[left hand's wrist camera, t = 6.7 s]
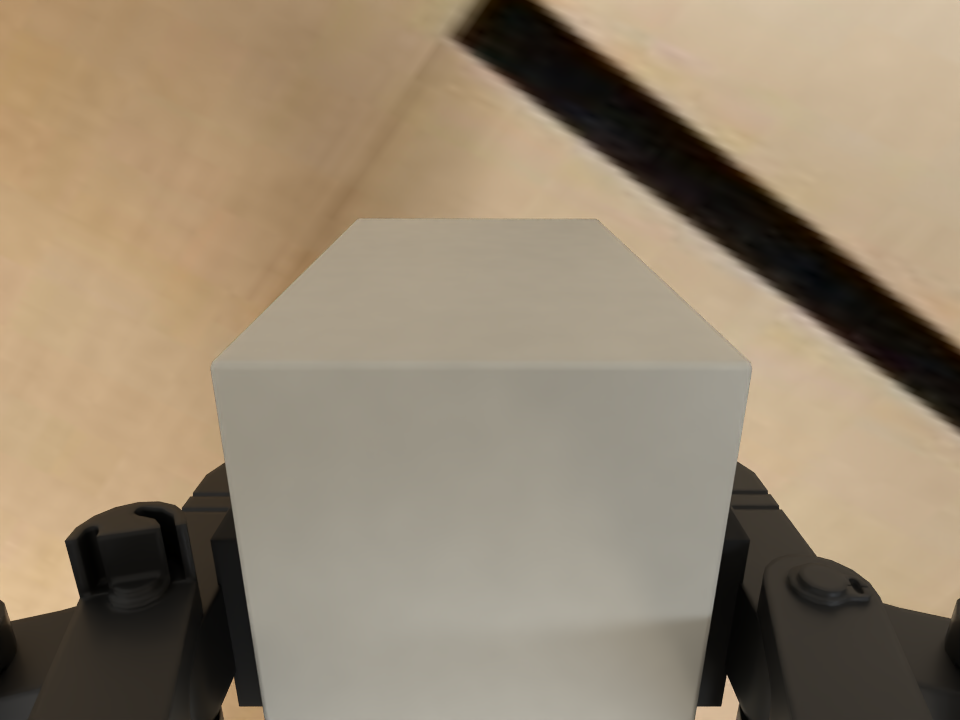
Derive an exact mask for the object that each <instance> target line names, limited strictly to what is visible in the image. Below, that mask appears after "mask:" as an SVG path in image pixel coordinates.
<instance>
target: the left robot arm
mask: <svg viewBox="0 0 960 720" xmlns="http://www.w3.org/2000/svg"><path fill="white" fill-rule="evenodd" d="M65 544H66V547H67V551H68V555H69V558H70V562H71V566H72V570H73V573H74V577H75V581H76V584H77V588H78V592H79V595H80V599H79V602H78V604H77V606H76V607H72V608H69V609H65V610H61V611H57V612H52V613H47V614H43V615H38V616H33V617H29V618H24V619H19V620H15V621H10V619H9V616H8V613H7V610H6V607H5V604H4V603H3V602H2V601H1V600H0V720H224V718H223V712H222V707H221V705H222V703H223V701H224V698H225V696H226V694H227V691H228V689H229V687H230V684H231V682H232V680H233V677H234V679H235V685H236V691H237V696H238V702H239V706H263V705H262V699H261V692H260V686H259V679H258V673H257V666H256V660H255V653H254V647H253V640H252V634H251V627H250V621H249V614H248V608H247V601H246V595H245V588H244V582H243V575H242V569H241V563H240V556H239V550H238V543H237V537H236V530H235V524H234V517H233V511H232V504H231V498H230V491H229V485H228V478H227V472H226V465H225V463H224V464H222V465H221V466H219V467H218V468H216V469H215V470H213V471H212V472H210V473H209V474H207V475H206V476H205V477H204V479H203V480H202V482H201V483H200V484H199V486H198V487H197V488H196V490H195V491H194V492H193V497H190V498H189V499H188V500H187V502H186V503H185V505H184V506H183V507H182V510H181V509H179V508H178V507H177V506H176V505H172V504H168V503H163V502H137V503H133V504H128V505H124V506H119V507H115V508H113V509H110V510H108V511H105V512H103V513H100V514H98V515H95V516H93V517H92V518H90V519H89V520H87V521H86V522H84V523H83V524H81V525H80V526H78V527H76V528H75V530H74V531H73V532H72V533H71V534H70V535H69V537H68V538H67V539H66V540H65ZM727 675H728V678H729V680H730V682H731V685H732V687H733V689H734V692H735V694H736V696H737V699H738V701H739V707H738V712H737V718H736V720H960V599H958V600H957V602H956V605H955V609H954V612H953V615H952V618H951V619H950V618H945V617H941V616H936V615H931V614H926V613H922V612H917V611H912V610H908V609H903V608H899V607H895V606H891V605H888V604H884V603H882V600H881V598H880V596H879V595H878V594H877V592H876V591H875V589H874V588H873V587H872V585H871V584H870V583H869V582H868V581H867V580H865V579H864V578H863V577H861V576H860V575H859V574H857V573H856V572H855V571H853V570H852V569H849V568H847V567H845V566H843V565H841V564H839V563H837V562H834V561H832V560H829V559H825V558H821V557H817V556H816V555H815V553H814V552H813V551H812V549H811V548H810V547H809V545H808V544H807V543H806V541H805V540H804V539H803V537H802V536H801V535H800V533H799V532H798V531H797V529H796V528H795V527H794V525H793V524H792V523H791V521H790V520H789V519H788V517H787V516H786V515H785V513H784V512H783V511H782V510H779V505H778V504H777V502H776V501H775V500H774V498H773V497H772V496H771V494H768V490H767V489H766V488H765V486H764V485H763V484H762V482H761V481H760V480H759V478H758V477H757V476H756V474H755V473H754V472H752V471H751V470H749V469H748V468H746V467H745V466H743V465H742V464H740V463H739V462H737V464H736V470H735V476H734V482H733V489H732V495H731V501H730V507H729V513H728V519H727V525H726V531H725V537H724V543H723V550H722V556H721V562H720V568H719V574H718V580H717V586H716V592H715V598H714V604H713V611H712V617H711V623H710V629H709V635H708V641H707V647H706V653H705V659H704V665H703V672H702V678H701V684H700V690H699V696H698V702H697V706H721V704H722V699H723V693H724V687H725V682H726V676H727Z"/></svg>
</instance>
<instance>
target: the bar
mask: <svg viewBox="0 0 960 720" xmlns="http://www.w3.org/2000/svg"><path fill="white" fill-rule="evenodd" d="M751 373H752V366H751V363H750V361H749V360H748V359H747V358H745V357H744V356H743V355H742V354H741V353H740V352H739V351H738V350H737V349H736V348H735V347H734V346H733V345H732V344H730V343H729V342H728V341H727V340H726V339H725V338H724V337H723V336H722V335H721V334H720V333H719V332H718V331H717V330H715V329H714V328H713V327H712V326H711V325H710V324H709V323H708V322H707V321H706V320H705V319H704V318H703V317H701V316H700V315H699V314H698V313H697V312H696V311H695V310H694V309H693V308H692V307H691V306H690V305H689V304H688V303H686V302H685V301H684V300H683V299H682V298H681V297H680V296H679V295H678V294H677V293H676V292H675V291H674V290H673V289H671V288H670V287H669V286H668V285H667V284H666V283H665V282H664V281H663V280H662V279H661V278H660V277H659V276H658V275H656V274H655V273H654V272H653V271H652V270H651V269H650V268H649V267H648V266H647V265H646V264H645V263H644V262H643V261H641V260H640V259H639V258H638V257H637V256H636V255H635V254H634V253H633V252H632V251H631V250H630V249H629V248H628V247H626V246H625V245H624V244H623V243H622V242H621V241H620V240H619V239H618V238H617V237H616V236H615V235H614V234H612V233H611V232H610V231H609V230H608V229H607V228H606V227H605V226H604V225H603V224H602V223H601V222H600V221H599V220H597V219H370V218H360V219H357V220H356V221H355V222H354V223H353V224H352V225H351V226H350V227H349V228H348V229H347V230H346V231H345V232H344V233H343V234H342V235H341V236H340V237H339V238H338V239H337V240H336V241H335V242H334V243H333V244H332V245H331V246H330V247H329V248H328V249H326V250H325V251H324V252H323V253H322V254H321V255H320V256H319V257H318V258H317V259H316V260H315V261H314V262H313V263H312V264H311V265H310V266H309V267H308V268H307V269H306V270H305V271H304V272H303V273H302V274H301V275H300V276H299V277H298V278H297V279H296V280H295V281H294V282H293V283H292V284H291V285H290V286H289V287H288V288H287V289H286V290H285V291H284V292H283V293H282V294H281V295H280V296H279V297H278V298H277V299H276V300H275V301H274V302H273V303H272V304H271V305H270V306H269V307H268V308H267V309H266V310H264V311H263V312H262V313H261V314H260V315H259V316H258V317H257V318H256V319H255V320H254V321H253V322H252V323H251V324H250V325H249V326H248V327H247V328H246V329H245V330H244V331H243V332H242V333H241V334H240V335H239V336H238V337H237V338H236V339H235V340H234V341H233V342H232V343H231V344H230V345H229V346H228V347H227V348H226V349H225V350H224V351H223V352H222V353H221V354H220V355H219V356H218V357H217V358H216V359H215V360H214V361H213V362H212V364H211V375H212V381H213V388H214V394H215V401H216V407H217V414H218V420H219V427H220V433H221V439H222V446H223V452H224V459H225V465H226V472H227V478H228V485H229V491H230V498H231V504H232V511H233V517H234V524H235V530H236V537H237V543H238V550H239V556H240V563H241V569H242V575H243V582H244V588H245V595H246V601H247V608H248V614H249V621H250V627H251V634H252V640H253V647H254V653H255V660H256V666H257V673H258V679H259V686H260V692H261V699H262V705H263V712H264V718H265V720H695V714H696V708H697V702H698V696H699V690H700V684H701V678H702V672H703V665H704V659H705V653H706V647H707V641H708V635H709V629H710V623H711V617H712V611H713V604H714V598H715V592H716V586H717V580H718V574H719V568H720V562H721V556H722V550H723V543H724V537H725V531H726V525H727V519H728V513H729V507H730V501H731V495H732V489H733V482H734V476H735V470H736V464H737V458H738V452H739V446H740V440H741V434H742V428H743V421H744V415H745V409H746V403H747V397H748V391H749V385H750V379H751Z"/></svg>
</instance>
